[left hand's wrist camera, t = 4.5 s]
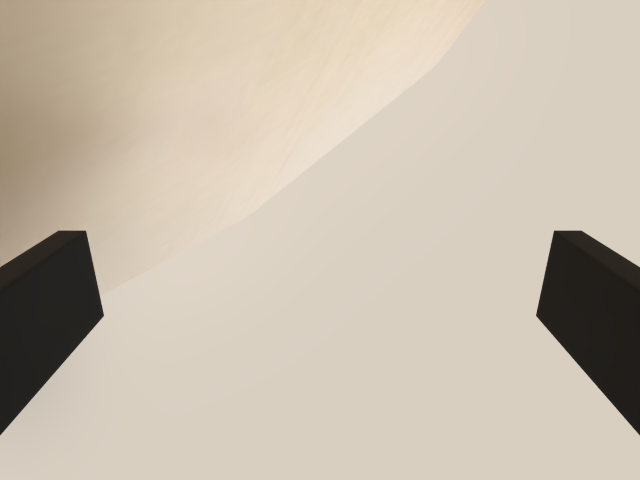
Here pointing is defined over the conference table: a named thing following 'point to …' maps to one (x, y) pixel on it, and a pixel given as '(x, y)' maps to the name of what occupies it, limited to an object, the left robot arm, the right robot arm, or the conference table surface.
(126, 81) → the conference table surface
